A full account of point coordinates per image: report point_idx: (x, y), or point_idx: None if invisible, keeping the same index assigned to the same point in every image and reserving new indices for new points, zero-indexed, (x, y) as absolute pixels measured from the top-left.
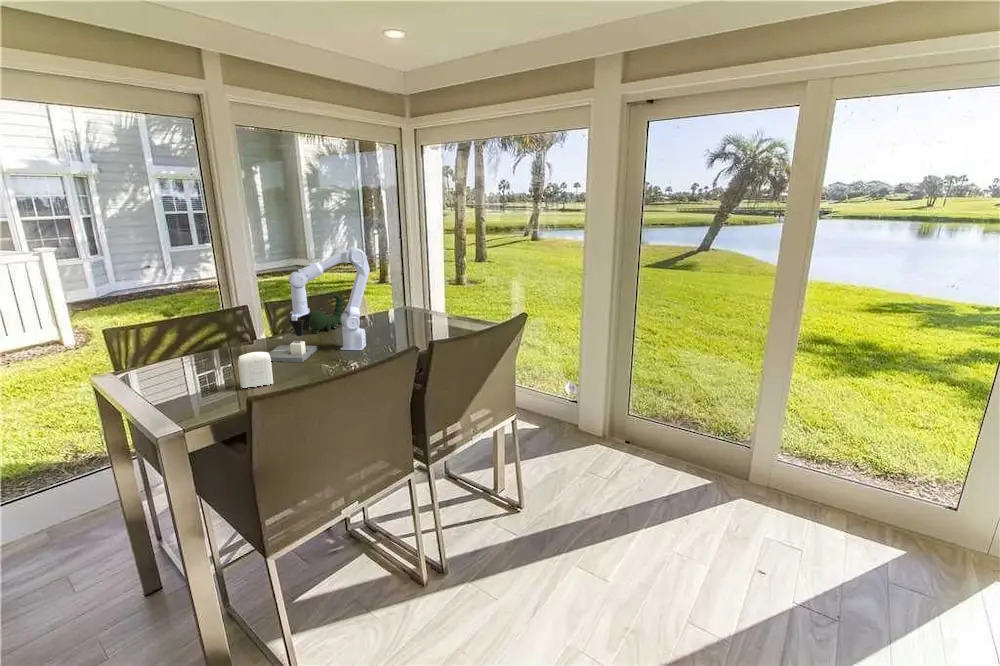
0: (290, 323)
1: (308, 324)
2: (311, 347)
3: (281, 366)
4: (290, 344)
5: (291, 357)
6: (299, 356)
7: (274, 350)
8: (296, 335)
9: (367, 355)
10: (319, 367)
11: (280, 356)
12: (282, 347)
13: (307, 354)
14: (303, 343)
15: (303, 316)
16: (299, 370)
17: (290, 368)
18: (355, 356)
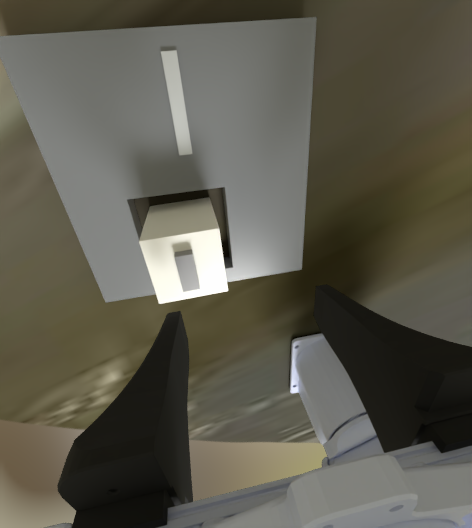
0: (92, 423)
1: (341, 357)
2: (275, 259)
3: (3, 229)
4: (140, 243)
5: (88, 252)
6: (120, 280)
7: (171, 58)
8: (166, 316)
9: (244, 417)
10: (81, 369)
11: (75, 180)
12: (261, 79)
13: None
14: (202, 291)
15: (402, 404)
16: (7, 329)
17: (5, 285)
18: (229, 399)
